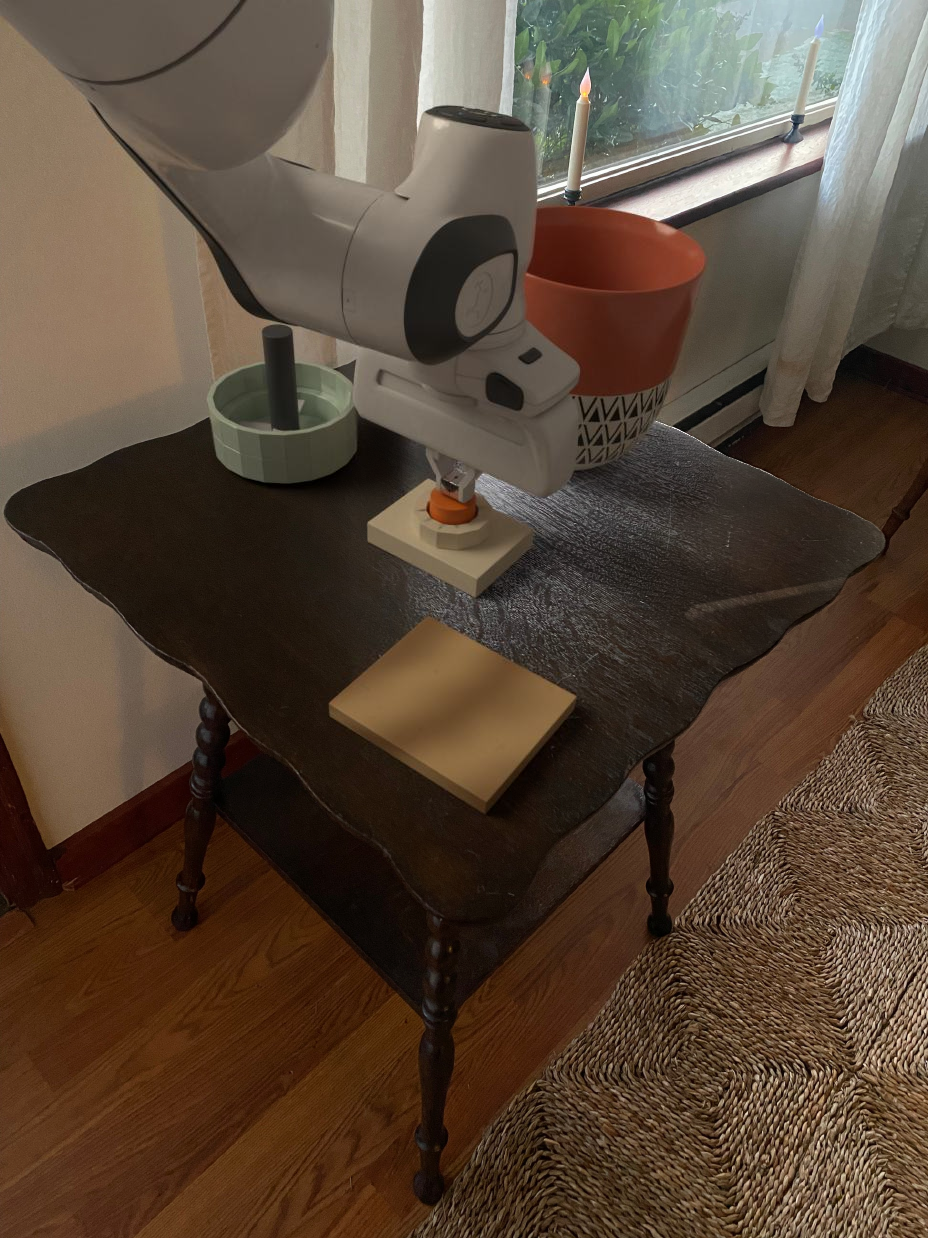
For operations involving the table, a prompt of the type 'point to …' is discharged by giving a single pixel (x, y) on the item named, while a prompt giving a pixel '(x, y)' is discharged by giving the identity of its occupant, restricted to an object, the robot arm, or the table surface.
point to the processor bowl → (290, 450)
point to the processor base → (451, 540)
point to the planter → (613, 315)
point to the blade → (280, 381)
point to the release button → (451, 509)
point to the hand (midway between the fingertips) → (454, 494)
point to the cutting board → (454, 711)
